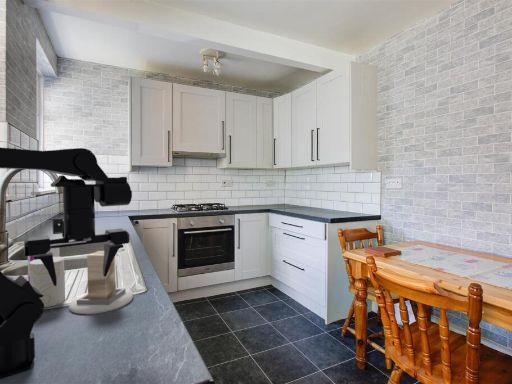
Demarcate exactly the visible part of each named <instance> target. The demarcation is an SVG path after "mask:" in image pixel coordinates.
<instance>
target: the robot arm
mask: <svg viewBox="0 0 512 384" xmlns="http://www.w3.org/2000/svg"><path fill="white" fill-rule="evenodd" d="M97 159H98V158H97V157H96V155H95V154H94V153H93V152H92V151H91V150H90V149H87V148H82V147H77V148H61V149H51V150H37V149H36V150H35V149H34V150H33V149H23V148H9V147H0V169H8V170H32V171H33V170H35V171H44V172H47V173H48V172H49V173H52V174H53V173H54V174H56V175H57V174H58V177H57V179H56V180H54V181H53V182H51V183H50V187H52V188H62V203H63V205H62V208H63V211H62V212H63V215H62V216H63V218H62V217H61V218H60V217H59V218H52V223H51V225H52V235H61V238H59V237H58V238H51V239H50V237H49V235H41V236H30V237H29V236H28V237H26V238H25V239H24V240H23V246H24V247H23V250H24V256H25V257H28V256H33V258H34V260H37V259H40V260H41V261H42V263H43V264H44V266H45V267H46V269H47V270H48V273H49V275H50V277H51V280H52V282H53V284H54V286H57V278H56V273H55V267H54V261H53V256H52V253H51V251H50V250H51V248H59V249H60V248H65V247H66V248H67V247H73V246H75V247H76V246H83V245H90V244H99V243H100V244H101V243H103V251H104V261H103V276H104V277H106V275H107V273H108V271H109V268H110V266H111V263H112V261H113V259H114V257H116V256H117V253H118V251H119V250H120V249H122V248H124V245H125V244H129V243H130V233H129V232H128V231H127V230H125V229H123V228H113V229H111V228H110V229H105V232H104V233H100V234H96V213H95V211H96V208H95V202H96V203H98V205H100V206H101V207H118V206H119V207H121V206H129V205H130V204H131V203H132V202H131V201H132V198H133V190H132V188H131V186H130V183H129V182H128V177H127V176H117V177H109V176H108V175H107V174H106V173H105V172H104V170H103V169H102V168H101V166H100V165H99V163H98V160H97ZM66 176H67V177H78V178H67V177H66ZM86 182H95V183H88V184H87V183H86ZM41 297H43V295H42V294H41V293H40V292H39V291H38V290H37V289H36V288H35V287H32V286H31V284H30V283H29V281H28V279H27V278H25V277H24V275H22V274H19V276H18V277H16V279H13V278H12V277H9V276H8V275H6V274H4V273H3V272H2V270H0V379H1V377H2V378H4V377H7V376H10V375H13V374H17V373H20V372H23V371H26V370H29V369H32V368H33V360H35V358H36V347H35V345H36V344H35V334H34V332H32V330H33V329H34V325H35V323H37V321H38V320H39V319H40V318H41V317H42V315H43V313H44V310H45V307H44V303H43V302H42V300H41V299H40V298H41Z"/></svg>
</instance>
